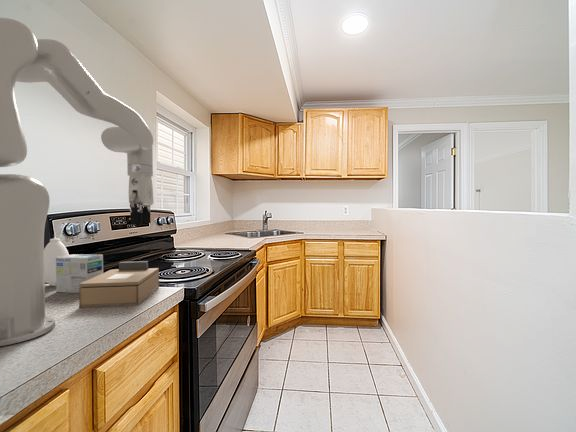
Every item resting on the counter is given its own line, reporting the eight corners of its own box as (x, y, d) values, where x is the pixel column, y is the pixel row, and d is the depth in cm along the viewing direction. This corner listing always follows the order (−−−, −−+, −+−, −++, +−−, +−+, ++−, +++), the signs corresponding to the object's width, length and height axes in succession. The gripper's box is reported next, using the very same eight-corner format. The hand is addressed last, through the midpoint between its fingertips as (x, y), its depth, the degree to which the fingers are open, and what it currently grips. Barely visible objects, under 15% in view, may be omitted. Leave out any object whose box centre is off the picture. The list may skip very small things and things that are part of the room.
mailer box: (138, 305, 75) (138, 286, 75) (79, 307, 73) (79, 288, 73) (158, 286, 93) (158, 271, 93) (111, 288, 91) (111, 272, 91)
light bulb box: (104, 287, 92) (104, 253, 92) (88, 293, 86) (87, 257, 86) (73, 286, 94) (73, 253, 93) (54, 292, 87) (54, 256, 87)
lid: (138, 284, 75) (137, 272, 75) (78, 287, 73) (78, 274, 73) (158, 270, 93) (158, 260, 93) (111, 271, 91) (111, 261, 91)
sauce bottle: (76, 282, 98) (75, 229, 98) (55, 289, 91) (54, 231, 90) (56, 282, 99) (55, 229, 99) (33, 288, 92) (32, 231, 91)
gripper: (143, 167, 88) (143, 225, 89) (159, 174, 106) (160, 222, 106) (116, 167, 87) (117, 225, 88) (137, 174, 105) (138, 222, 105)
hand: (141, 223), depth 97 cm, fingers open, 7 cm apart
